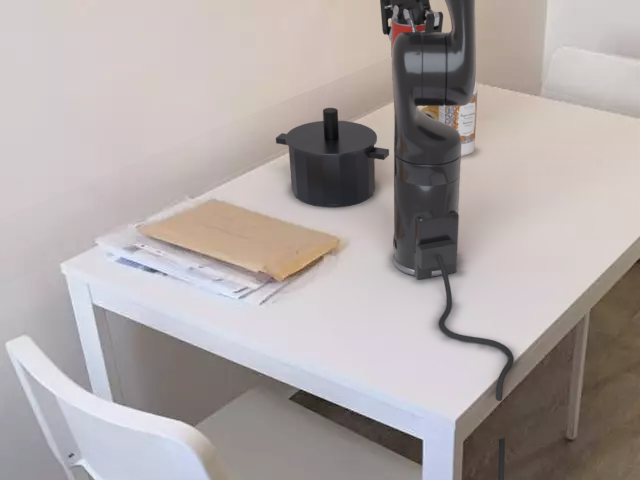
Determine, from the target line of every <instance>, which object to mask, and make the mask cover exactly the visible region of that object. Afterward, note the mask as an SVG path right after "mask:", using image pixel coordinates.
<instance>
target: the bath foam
mask: <svg viewBox="0 0 640 480" xmlns="http://www.w3.org/2000/svg"><path fill="white" fill-rule="evenodd" d="M477 108H478V83H477V79H476V78H475V88H474V93H473V96H472V99H471V101H470V102H469V103H468V104H467V105H465V106H439V121H440V122H443V123H445V124H448V125H450V126H452V127H453V128H455V129H456V130H457V131H458V132H459V134H460V136H461V157H464V156H467V155H468V156H469V155H470V154H472V153H473V152H475V148H476V147H475V145H476V129H477V110H478V109H477Z"/></svg>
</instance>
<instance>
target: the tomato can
mask: <svg viewBox="0 0 640 480" xmlns="http://www.w3.org/2000/svg"><path fill="white" fill-rule="evenodd" d="M425 25H426V24H421V25H415V27H416V30H417V31H424V30H425ZM411 31H412V29H411V25H409V24H407V22H406V21H403V20H401V19H398V20H396V19H393V20H392V49H393V44H394V41H395V39H396V37H397V36H398V35H399V34H400V33H403V32H411Z"/></svg>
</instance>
